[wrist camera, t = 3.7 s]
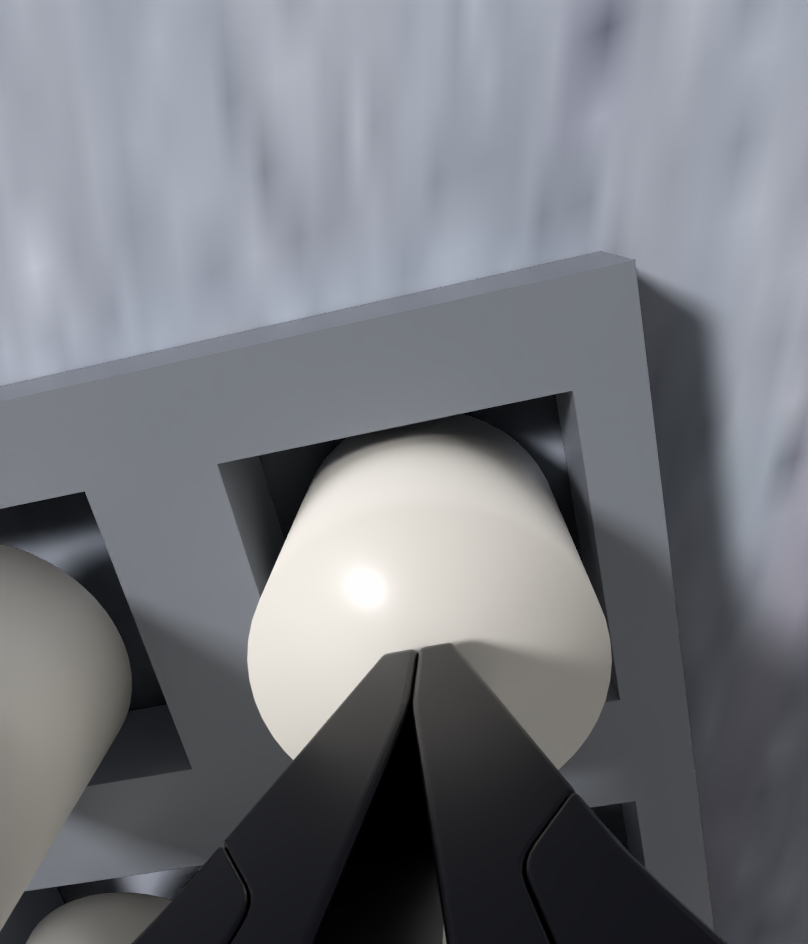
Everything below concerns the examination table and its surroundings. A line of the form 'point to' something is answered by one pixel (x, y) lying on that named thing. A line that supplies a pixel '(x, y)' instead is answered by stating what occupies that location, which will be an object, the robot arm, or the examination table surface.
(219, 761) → the button board
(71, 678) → the button
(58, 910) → the button
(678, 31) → the examination table surface
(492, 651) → the button
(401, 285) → the examination table surface
